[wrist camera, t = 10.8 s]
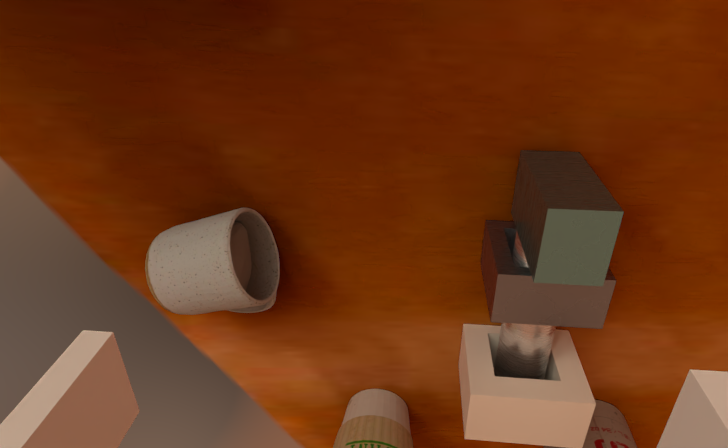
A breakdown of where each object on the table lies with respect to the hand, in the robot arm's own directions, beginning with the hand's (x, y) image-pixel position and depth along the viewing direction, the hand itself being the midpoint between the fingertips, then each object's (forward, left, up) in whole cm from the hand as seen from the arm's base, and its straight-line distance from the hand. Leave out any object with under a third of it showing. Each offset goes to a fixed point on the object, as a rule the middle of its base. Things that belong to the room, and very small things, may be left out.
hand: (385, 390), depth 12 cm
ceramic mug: (+14, -14, -27) cm, 33 cm away
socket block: (+23, +10, -27) cm, 36 cm away
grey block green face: (+13, +10, -26) cm, 31 cm away
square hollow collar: (+12, +10, -27) cm, 31 cm away
